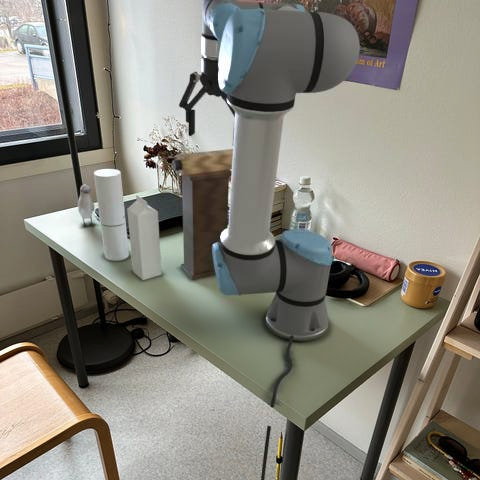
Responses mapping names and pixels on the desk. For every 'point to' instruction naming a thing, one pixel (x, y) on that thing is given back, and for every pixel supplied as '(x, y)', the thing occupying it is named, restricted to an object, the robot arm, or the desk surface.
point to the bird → (85, 203)
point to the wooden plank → (203, 162)
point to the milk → (144, 239)
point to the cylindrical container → (112, 213)
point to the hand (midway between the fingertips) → (213, 139)
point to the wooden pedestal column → (203, 219)
